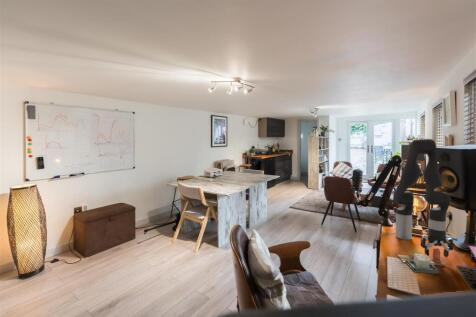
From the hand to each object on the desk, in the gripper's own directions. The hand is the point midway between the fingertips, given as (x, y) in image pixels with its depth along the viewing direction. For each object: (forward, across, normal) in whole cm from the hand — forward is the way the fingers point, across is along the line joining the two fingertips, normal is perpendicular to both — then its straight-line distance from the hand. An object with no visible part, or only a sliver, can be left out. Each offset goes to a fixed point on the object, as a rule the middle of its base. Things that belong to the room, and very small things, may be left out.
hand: (436, 255), depth 128 cm
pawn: (+3, 0, 0) cm, 3 cm away
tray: (+4, +10, +8) cm, 14 cm away
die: (+3, +10, +7) cm, 13 cm away
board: (+4, +8, 0) cm, 8 cm away
